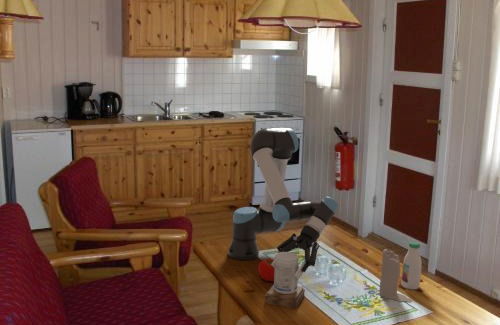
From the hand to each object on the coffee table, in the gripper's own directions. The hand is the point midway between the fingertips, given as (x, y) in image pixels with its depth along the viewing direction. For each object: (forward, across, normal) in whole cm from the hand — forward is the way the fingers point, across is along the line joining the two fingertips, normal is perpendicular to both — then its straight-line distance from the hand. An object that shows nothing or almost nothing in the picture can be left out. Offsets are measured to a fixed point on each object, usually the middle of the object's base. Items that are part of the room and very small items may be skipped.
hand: (284, 272), depth 216 cm
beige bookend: (-20, -25, -38) cm, 50 cm away
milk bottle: (-31, -22, -48) cm, 61 cm away
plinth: (+8, 0, -9) cm, 12 cm away
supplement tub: (+5, 0, -6) cm, 8 cm away
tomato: (+2, +19, -15) cm, 25 cm away
